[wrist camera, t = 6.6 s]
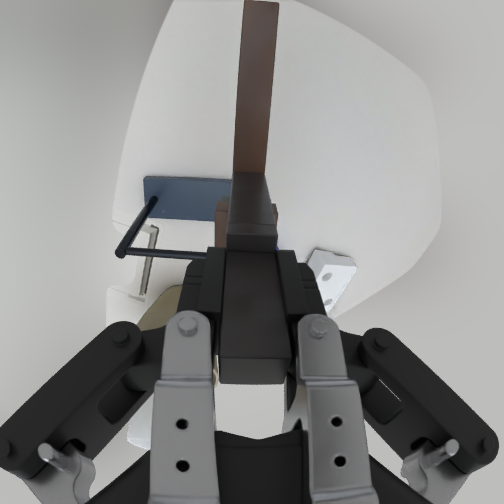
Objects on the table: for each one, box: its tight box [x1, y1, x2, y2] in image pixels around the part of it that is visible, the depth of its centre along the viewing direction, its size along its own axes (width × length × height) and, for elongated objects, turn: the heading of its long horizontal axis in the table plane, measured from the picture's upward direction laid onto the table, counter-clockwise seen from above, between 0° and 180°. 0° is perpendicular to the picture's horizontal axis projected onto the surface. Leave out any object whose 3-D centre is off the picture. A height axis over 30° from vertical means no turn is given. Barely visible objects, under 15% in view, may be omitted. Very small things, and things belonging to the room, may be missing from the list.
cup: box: [127, 393, 154, 450], centre depth 53 cm, size 10×10×22 cm
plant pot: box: [137, 286, 219, 388], centre depth 43 cm, size 15×15×16 cm
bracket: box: [307, 250, 358, 328], centre depth 45 cm, size 13×7×8 cm, turn 162°
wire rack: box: [115, 176, 232, 260], centre depth 32 cm, size 6×15×15 cm, turn 84°
